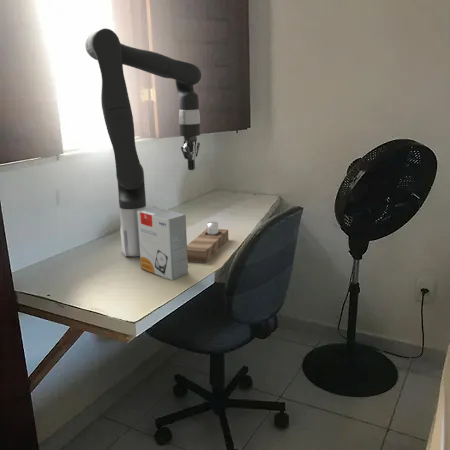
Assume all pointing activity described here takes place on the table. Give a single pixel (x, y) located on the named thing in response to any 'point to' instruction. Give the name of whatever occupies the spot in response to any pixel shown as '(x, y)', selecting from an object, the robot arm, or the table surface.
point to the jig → (206, 246)
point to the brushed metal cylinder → (212, 228)
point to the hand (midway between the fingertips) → (191, 169)
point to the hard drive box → (163, 242)
